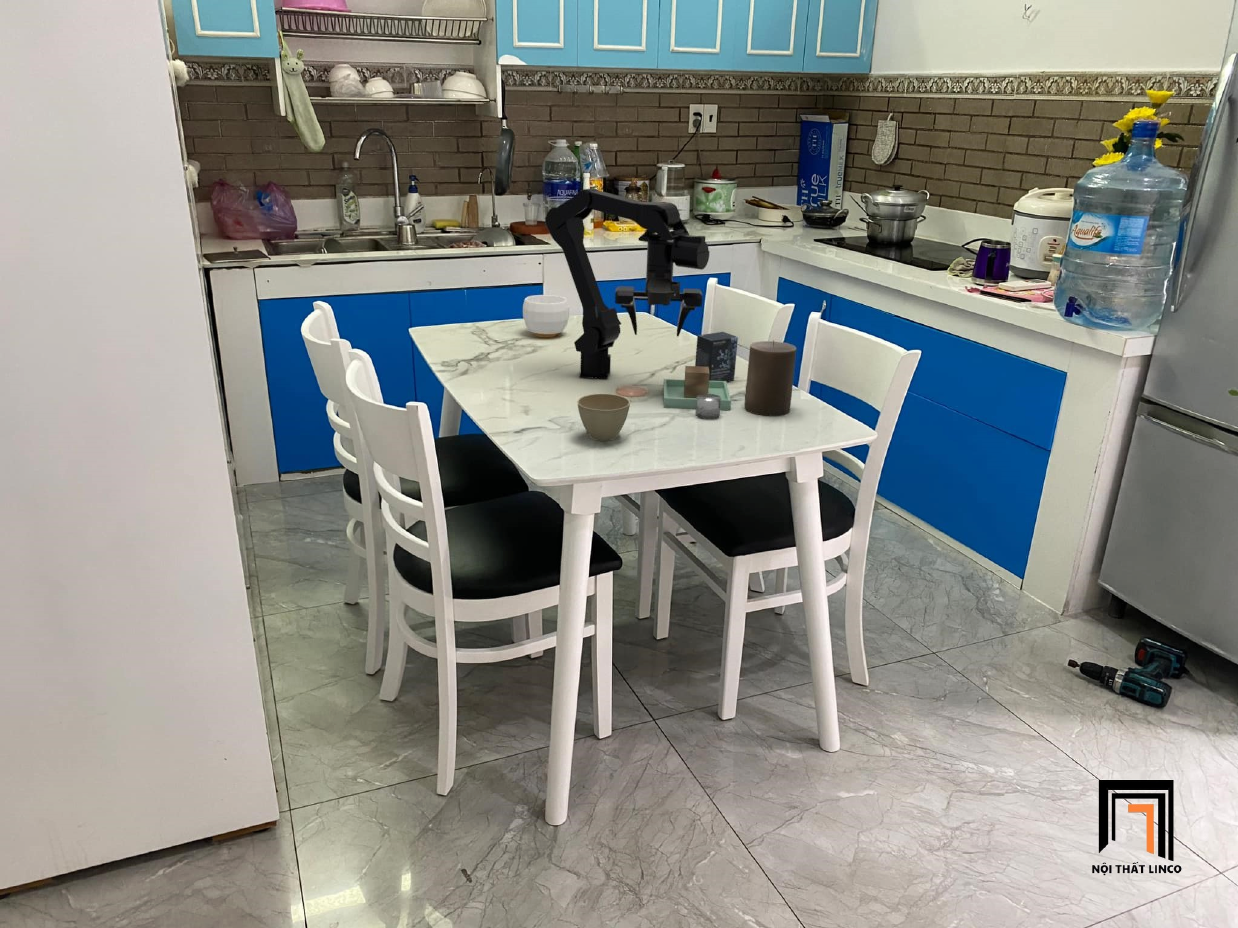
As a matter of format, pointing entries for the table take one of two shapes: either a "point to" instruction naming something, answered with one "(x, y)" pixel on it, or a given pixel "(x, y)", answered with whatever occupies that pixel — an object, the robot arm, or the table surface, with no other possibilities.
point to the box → (717, 355)
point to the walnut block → (696, 381)
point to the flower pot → (603, 415)
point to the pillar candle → (770, 378)
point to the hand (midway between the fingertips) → (656, 335)
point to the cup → (546, 314)
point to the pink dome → (631, 391)
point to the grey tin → (708, 406)
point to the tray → (675, 398)
